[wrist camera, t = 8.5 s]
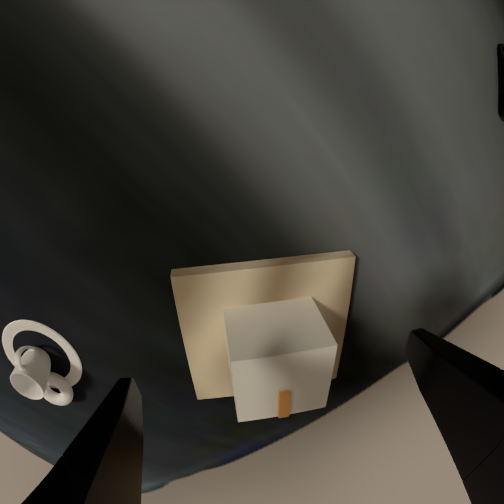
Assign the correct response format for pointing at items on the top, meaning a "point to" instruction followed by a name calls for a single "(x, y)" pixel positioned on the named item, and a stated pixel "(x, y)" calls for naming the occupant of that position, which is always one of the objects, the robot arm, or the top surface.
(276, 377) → the small white box
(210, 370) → the board
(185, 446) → the top surface
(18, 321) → the white ring with cylinder
